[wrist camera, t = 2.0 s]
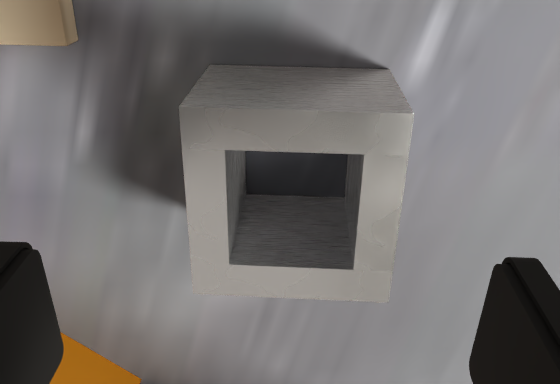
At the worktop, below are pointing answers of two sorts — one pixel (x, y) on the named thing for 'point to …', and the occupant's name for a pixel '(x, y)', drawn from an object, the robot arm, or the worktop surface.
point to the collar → (294, 209)
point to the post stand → (37, 22)
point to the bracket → (88, 367)
